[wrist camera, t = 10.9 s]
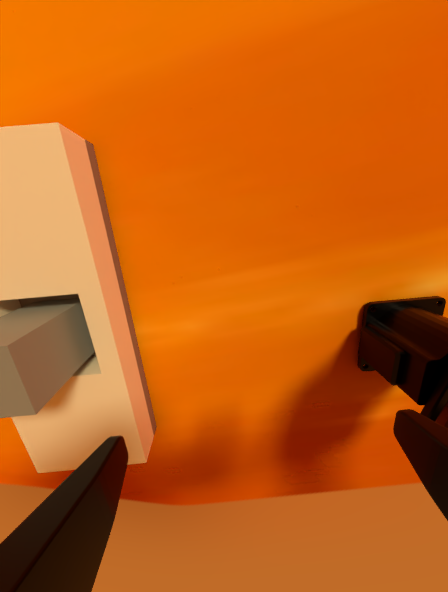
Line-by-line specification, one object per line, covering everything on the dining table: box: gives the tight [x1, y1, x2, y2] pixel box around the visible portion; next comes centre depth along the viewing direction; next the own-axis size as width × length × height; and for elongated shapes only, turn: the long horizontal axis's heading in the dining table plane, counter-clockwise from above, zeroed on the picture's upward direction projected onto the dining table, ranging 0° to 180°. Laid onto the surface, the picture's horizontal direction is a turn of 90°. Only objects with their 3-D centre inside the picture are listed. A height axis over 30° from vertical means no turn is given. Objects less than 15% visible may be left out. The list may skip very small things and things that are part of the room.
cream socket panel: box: [0, 123, 156, 473], centre depth 17 cm, size 9×24×4 cm, turn 5°
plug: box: [0, 298, 95, 418], centre depth 14 cm, size 4×4×7 cm
